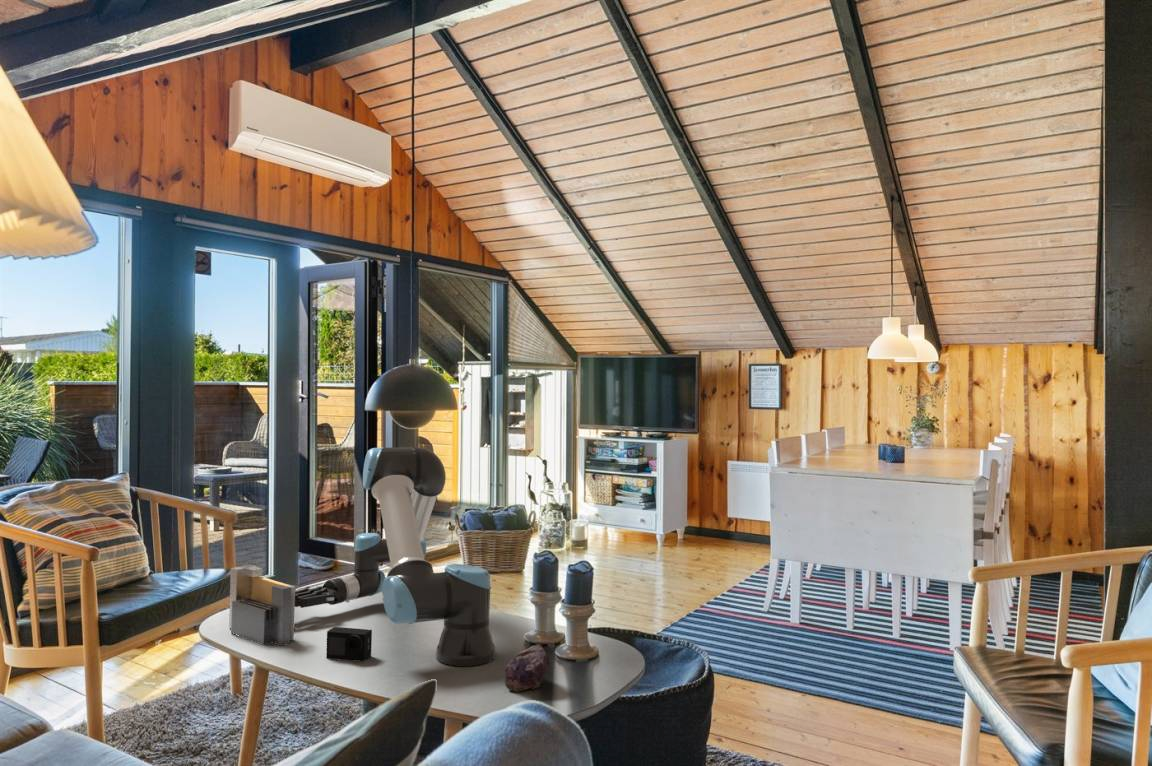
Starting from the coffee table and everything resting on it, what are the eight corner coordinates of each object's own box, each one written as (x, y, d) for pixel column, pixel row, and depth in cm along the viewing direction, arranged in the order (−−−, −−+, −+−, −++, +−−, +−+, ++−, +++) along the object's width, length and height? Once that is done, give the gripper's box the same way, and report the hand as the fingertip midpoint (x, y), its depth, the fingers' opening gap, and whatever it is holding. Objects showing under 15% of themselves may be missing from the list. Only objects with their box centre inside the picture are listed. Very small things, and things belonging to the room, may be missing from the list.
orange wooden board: (295, 638, 214) (296, 586, 214) (287, 640, 212) (288, 588, 212) (257, 624, 226) (259, 575, 226) (249, 626, 224) (251, 576, 224)
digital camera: (323, 660, 199) (324, 632, 199) (333, 653, 205) (334, 626, 205) (361, 663, 197) (362, 635, 198) (371, 656, 203) (371, 629, 203)
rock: (499, 694, 183) (536, 702, 178) (496, 659, 182) (532, 666, 177) (527, 671, 193) (562, 679, 188) (524, 638, 192) (559, 644, 187)
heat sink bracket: (300, 640, 214) (302, 577, 214) (273, 648, 207) (275, 583, 207) (248, 623, 228) (250, 564, 228) (221, 630, 221) (223, 569, 221)
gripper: (354, 606, 237) (284, 624, 218) (325, 598, 245) (256, 614, 226) (355, 581, 237) (285, 597, 218) (326, 574, 245) (256, 588, 226)
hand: (270, 606), depth 222 cm, fingers closed
